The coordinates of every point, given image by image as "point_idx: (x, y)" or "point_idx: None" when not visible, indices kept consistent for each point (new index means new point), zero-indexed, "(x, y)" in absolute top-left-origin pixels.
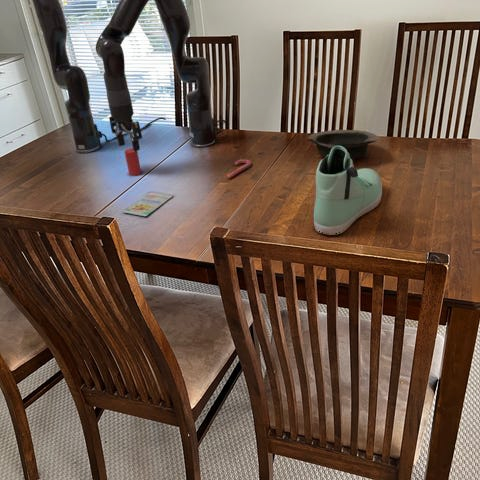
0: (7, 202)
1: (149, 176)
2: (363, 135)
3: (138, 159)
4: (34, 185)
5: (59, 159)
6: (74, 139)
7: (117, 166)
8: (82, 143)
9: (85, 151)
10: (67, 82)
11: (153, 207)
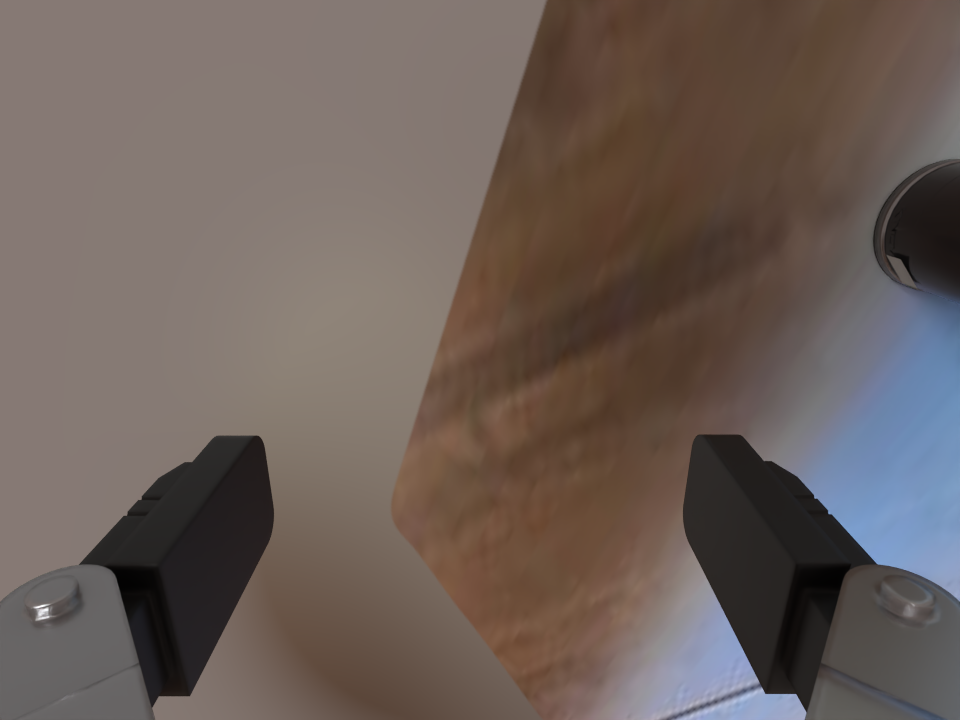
0: (396, 514)
1: None
2: None
3: None
4: (528, 449)
5: (757, 243)
6: (927, 234)
7: (843, 526)
8: (921, 283)
9: (892, 277)
10: None
11: None
